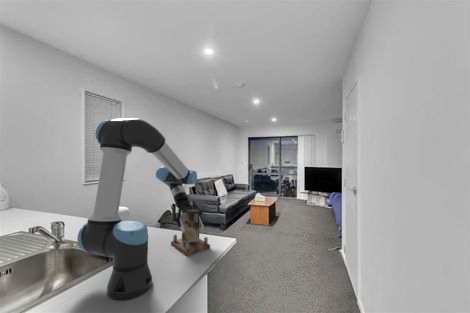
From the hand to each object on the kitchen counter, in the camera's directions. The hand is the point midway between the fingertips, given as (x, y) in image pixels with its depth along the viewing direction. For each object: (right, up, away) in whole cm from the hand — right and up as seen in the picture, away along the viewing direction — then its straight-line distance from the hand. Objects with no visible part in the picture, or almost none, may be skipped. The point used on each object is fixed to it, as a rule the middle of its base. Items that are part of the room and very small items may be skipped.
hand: (193, 229), depth 115 cm
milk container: (-46, -9, +7) cm, 48 cm away
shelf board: (-2, -10, +2) cm, 10 cm away
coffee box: (-2, -7, +2) cm, 7 cm away
